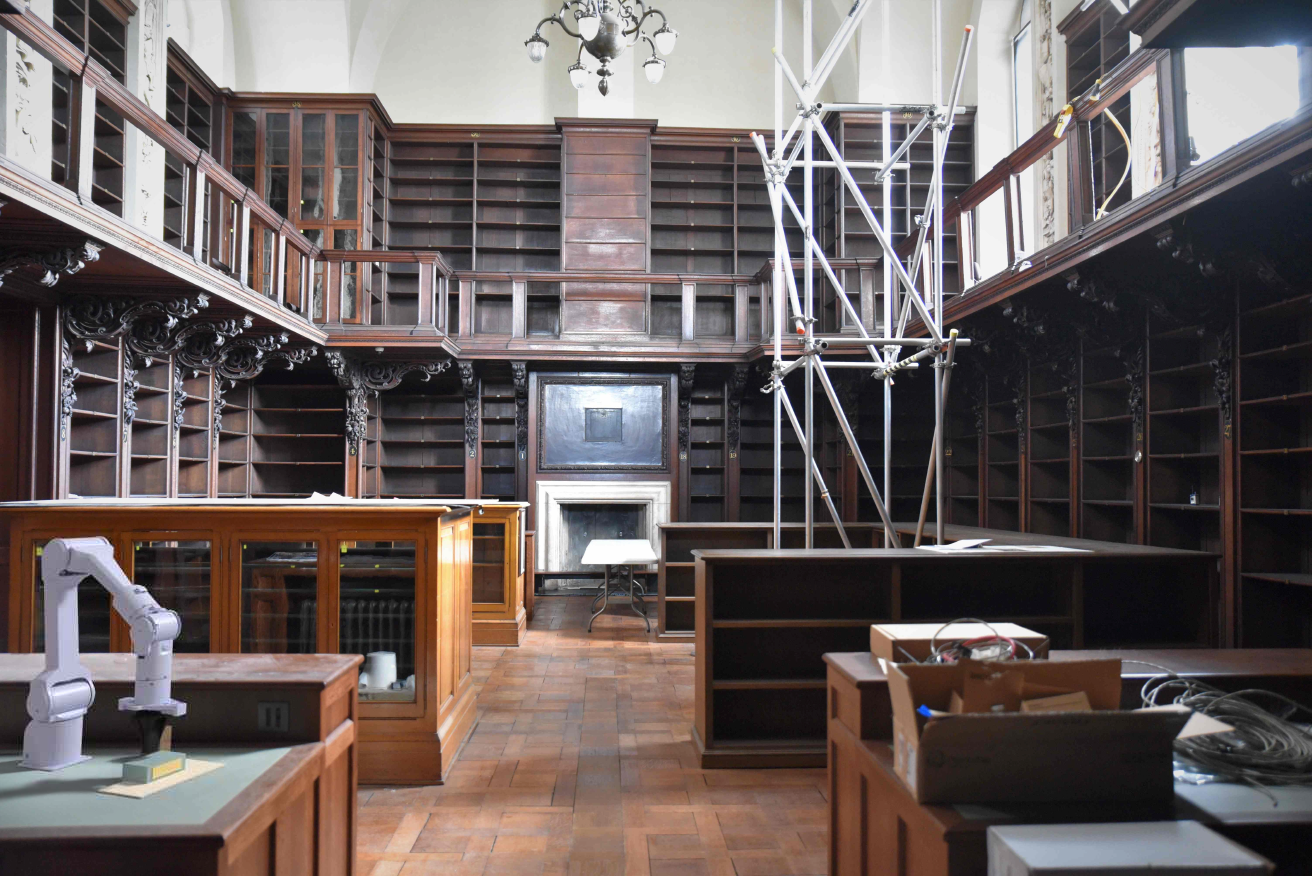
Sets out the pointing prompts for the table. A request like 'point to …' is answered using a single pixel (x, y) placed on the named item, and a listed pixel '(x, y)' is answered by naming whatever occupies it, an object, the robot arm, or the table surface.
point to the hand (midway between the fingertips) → (149, 751)
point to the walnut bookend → (162, 742)
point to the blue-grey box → (153, 767)
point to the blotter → (162, 780)
